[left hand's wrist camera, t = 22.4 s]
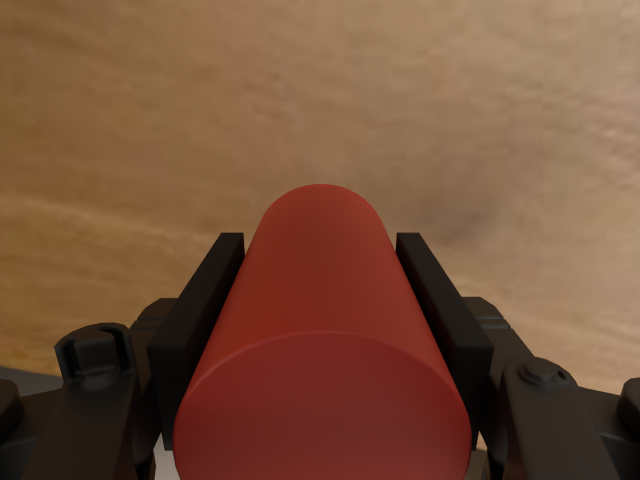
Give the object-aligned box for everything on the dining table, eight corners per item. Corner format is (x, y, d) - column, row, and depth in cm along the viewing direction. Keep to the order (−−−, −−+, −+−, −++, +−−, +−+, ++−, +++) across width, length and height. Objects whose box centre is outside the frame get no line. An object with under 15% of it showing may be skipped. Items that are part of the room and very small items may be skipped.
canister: (231, 265, 17) (121, 491, 7) (299, 156, 15) (268, 271, 6) (338, 325, 18) (358, 590, 8) (412, 229, 16) (538, 425, 7)
